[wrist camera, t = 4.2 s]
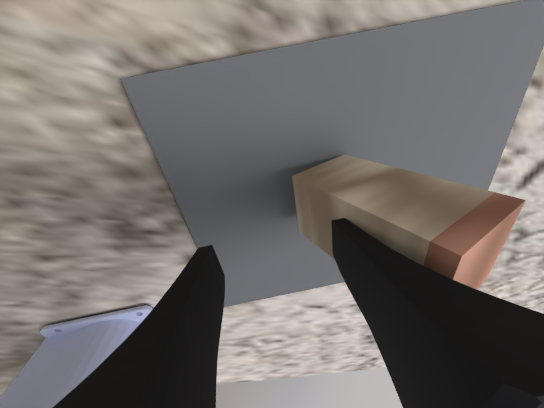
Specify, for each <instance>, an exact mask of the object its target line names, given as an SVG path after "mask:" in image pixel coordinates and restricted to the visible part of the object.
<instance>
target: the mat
mask: <svg viewBox="0 0 544 408" xmlns="http://www.w3.org/2000/svg"><path fill="white" fill-rule="evenodd" d="M543 46H544V0H523V1H518V2H513V3H507V4H502V5H497V6H492V7H487V8H482V9H477V10H471V11H466V12H461V13H456V14H451V15H446V16H441V17H435V18H430V19H425V20H420V21H415V22H410V23H405V24H399V25H394V26H389V27H384V28H379V29H374V30H369V31H364V32H358V33H353V34H348V35H343V36H338V37H333V38H328V39H322V40H317V41H312V42H307V43H302V44H297V45H292V46H286V47H281V48H276V49H271V50H266V51H261V52H256V53H250V54H245V55H240V56H235V57H230V58H225V59H220V60H214V61H209V62H204V63H199V64H194V65H189V66H184V67H178V68H173V69H168V70H163V71H158V72H153V73H148V74H142V75H137V76H132V77H127V78H122V79H120V80H121V82H122V84H123V86H124V88H125V90H126V93H127V95H128V97H129V99H130V101H131V104H132V106H133V108H134V110H135V112H136V115H137V117H138V119H139V121H140V123H141V125H142V128H143V130H144V132H145V134H146V136H147V139H148V141H149V143H150V145H151V147H152V150H153V152H154V154H155V156H156V158H157V160H158V163H159V165H160V167H161V169H162V171H163V174H164V176H165V178H166V180H167V182H168V185H169V187H170V189H171V191H172V193H173V195H174V198H175V200H176V202H177V204H178V206H179V209H180V211H181V213H182V215H183V217H184V220H185V222H186V224H187V226H188V228H189V230H190V233H191V235H192V237H193V239H194V241H195V244H196V246H197V248H199V247H204V246H209V245H213V248H214V250H215V253H216V255H217V258H218V260H219V262H220V265H221V267H222V270H223V272H224V274H225V299H224V307H227V306H231V305H236V304H241V303H246V302H251V301H255V300H260V299H265V298H270V297H275V296H279V295H284V294H289V293H294V292H299V291H303V290H308V289H313V288H318V287H323V286H327V285H332V284H337V283H342V282H345V281H344V279H343V277H342V275H341V273H340V271H339V268H338V266H337V263H336V261H335V260H334V259H333V258H332V257H330V256H329V255H328V254H327V253H325V252H324V251H323V250H322V249H320V248H319V247H318V246H317V245H315V244H314V243H313V242H311V241H310V240H309V239H308V238H306V237H305V236H304V235H303V234H301V233H300V232H299V225H298V218H297V210H296V202H295V195H294V187H293V179H292V176H293V175H295V174H298V173H300V172H303V171H305V170H308V169H310V168H313V167H315V166H317V165H320V164H322V163H325V162H327V161H330V160H332V159H334V158H337V157H339V156H342V155H344V154H345V155H349V156H353V157H357V158H361V159H365V160H369V161H373V162H377V163H380V164H384V165H388V166H392V167H396V168H400V169H404V170H408V171H412V172H416V173H420V174H424V175H428V176H432V177H436V178H440V179H444V180H448V181H452V182H456V183H459V184H463V185H467V186H471V187H475V188H479V189H483V190H487V191H488V189H489V186H490V184H491V181H492V178H493V176H494V173H495V171H496V168H497V165H498V163H499V160H500V158H501V155H502V152H503V150H504V147H505V145H506V142H507V139H508V137H509V134H510V132H511V129H512V127H513V124H514V121H515V119H516V116H517V114H518V111H519V108H520V106H521V103H522V101H523V98H524V95H525V93H526V90H527V88H528V85H529V82H530V80H531V77H532V75H533V72H534V69H535V67H536V64H537V62H538V59H539V57H540V54H541V51H542V49H543Z"/></svg>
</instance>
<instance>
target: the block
mask: <svg viewBox="0 0 544 408" xmlns="http://www.w3.org/2000/svg"><path fill="white" fill-rule="evenodd" d="M292 179H293V187H294V195H295V202H296V210H297V218H298V225H299V232H300V233H301V234H303V235H304V236H305V237H306V238H308V239H309V240H310V241H311V242H313V243H314V244H315V245H317V246H318V247H319V248H320V249H322V250H323V251H324V252H325V253H327V254H328V255H329V256H330V257H332V258H333V259H334V260H335V258H334V256H333V251H332V222H331V220H336V219H341V218H346V219H347V220H349V221H350V222H352V223H353V224H355V225H356V226H357V227H359V228H360V229H362V230H363V231H365V232H366V233H368V234H369V235H371V236H372V237H374V238H375V239H377V240H379V241H380V242H382V243H383V244H385V245H387V246H388V247H390V248H392V249H393V250H395V251H397V252H399V253H400V254H402V255H404V256H406V257H407V258H409V259H411V260H413V261H415V262H417V263H419V264H421V265H423V266H425V267H427V268H429V269H431V270H433V271H435V272H437V273H439V274H441V275H444V276H446V277H448V278H450V279H452V280H455V281H457V282H460V283H462V284H464V285H467V286H469V287H472V288H474V289H476V290H477V289H478V287H479V286H480V285H481V284H482V283H483V282H484V281H485V280H486V279H487V277H488V275H489V273H490V271H491V269H492V267H493V265H494V263H495V261H496V259H497V257H498V255H499V253H500V251H501V249H502V247H503V245H504V243H505V241H506V239H507V237H508V235H509V233H510V231H511V229H512V227H513V225H514V223H515V221H516V219H517V217H518V215H519V213H520V211H521V209H522V207H523V205H524V203H525V201H526V200H523V199H519V198H515V197H511V196H507V195H503V194H499V193H495V192H491V191H487V190H483V189H479V188H475V187H471V186H467V185H463V184H459V183H456V182H452V181H448V180H444V179H440V178H436V177H432V176H428V175H424V174H420V173H416V172H412V171H408V170H404V169H400V168H396V167H392V166H388V165H384V164H380V163H377V162H373V161H369V160H365V159H361V158H357V157H353V156H349V155H345V154H344V155H342V156H339V157H337V158H334V159H332V160H330V161H327V162H325V163H322V164H320V165H317V166H315V167H313V168H310V169H308V170H305V171H303V172H300V173H298V174H295V175H293V176H292Z"/></svg>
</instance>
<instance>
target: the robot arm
mask: <svg viewBox="0 0 544 408" xmlns="http://www.w3.org/2000/svg"><path fill="white" fill-rule="evenodd" d="M331 222H332V251H333V256H334V258H335V261H336V263H337V266H338V268H339V271H340V273H341V275H342V277H343V279H344V281H345V283H346V284H347V286H348V288H349V290H350V292H351V294H352V295H353V297H354V299H355V301H356V303H357V305H358V306H359V308H360V310H361V312H362V314H363V316H364V317H365V319H366V321H367V323H368V325H369V327H370V329H371V332H372V334H373V336H374V339H375V341H376V343H377V345H378V348H379V350H380V352H381V355H382V357H383V359H384V362H385V364H386V367H387V369H388V371H389V374H390V376H391V378H392V381H393V383H394V386H395V388H396V391H397V393H398V396H399V398H400V401H401V403H402V406H403V408H544V314H542V313H539V312H536V311H533V310H530V309H527V308H525V307H522V306H519V305H516V304H514V303H511V302H508V301H505V300H502V299H500V298H497V297H494V296H492V295H489V294H487V293H484V292H481V291H479V290H476V289H474V288H472V287H469V286H467V285H464V284H462V283H460V282H457V281H455V280H452V279H450V278H448V277H446V276H444V275H441V274H439V273H437V272H435V271H433V270H431V269H429V268H427V267H425V266H423V265H421V264H419V263H417V262H415V261H413V260H411V259H409V258H407V257H406V256H404V255H402V254H400V253H399V252H397V251H395V250H393V249H392V248H390V247H388V246H387V245H385V244H383V243H382V242H380V241H379V240H377V239H375V238H374V237H372V236H371V235H369V234H368V233H366V232H365V231H363V230H362V229H360V228H359V227H357V226H356V225H355V224H353V223H352V222H350V221H349V220H347V219H346V218H341V219H336V220H331ZM224 299H225V274H224V272H223V270H222V267H221V265H220V262H219V260H218V258H217V255H216V253H215V250H214V248H213V245H209V246H204V247H199V248H198V250H197V251H196V252H195V254H194V255H193V257H192V258H191V259H190V261H189V262H188V264H187V265H186V267H185V268H184V269H183V271H182V272H181V274H180V275H179V276H178V278H177V279H176V280H175V282H174V283H173V284H172V286H171V287H170V288H169V290H168V291H167V292H166V293H165V295H164V296H163V297H162V298H161V300H160V301H159V302H158V303H157V305H156V306H155V307H154V308H153V309H152V307H151V306H147V305H145V306H140V307H135V308H130V309H125V310H120V311H115V312H111V313H106V314H101V315H96V316H91V317H87V318H82V319H77V320H72V321H67V322H62V323H58V324H53V325H48V326H44V327H43V328H42V329H41V330H40V334H41V335H42V336H44V337H45V340H44V341H43V342H42V344H41V345H40V346H39V348H38V349H37V350H36V352H35V353H34V354H33V355H32V357H31V358H30V359H29V361H28V362H27V363H26V365H25V366H24V367H23V368H22V370H21V371H20V372H19V374H18V375H17V376H16V378H15V379H14V380H13V382H12V383H11V384H10V385H9V387H8V388H7V389H6V391H5V392H4V393H3V395H2V396H1V397H0V408H216V405H215V404H216V375H217V356H218V346H219V339H220V331H221V323H222V316H223V308H224Z"/></svg>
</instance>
